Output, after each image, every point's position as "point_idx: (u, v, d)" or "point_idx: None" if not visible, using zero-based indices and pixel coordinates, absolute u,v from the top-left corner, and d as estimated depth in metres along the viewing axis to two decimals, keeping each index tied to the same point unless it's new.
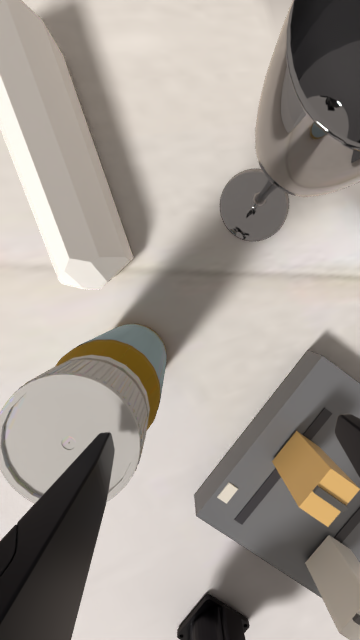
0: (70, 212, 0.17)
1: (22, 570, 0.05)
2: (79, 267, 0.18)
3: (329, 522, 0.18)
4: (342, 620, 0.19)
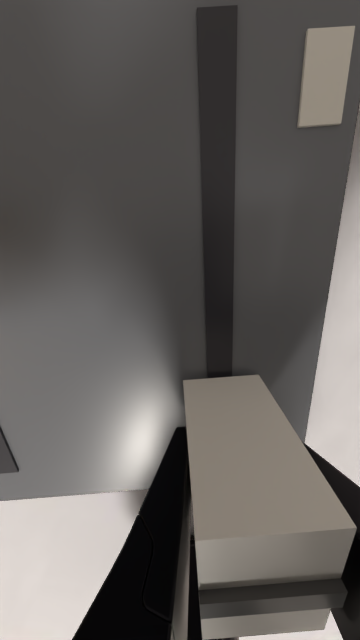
0: None
1: (165, 558, 0.05)
2: None
3: None
4: None
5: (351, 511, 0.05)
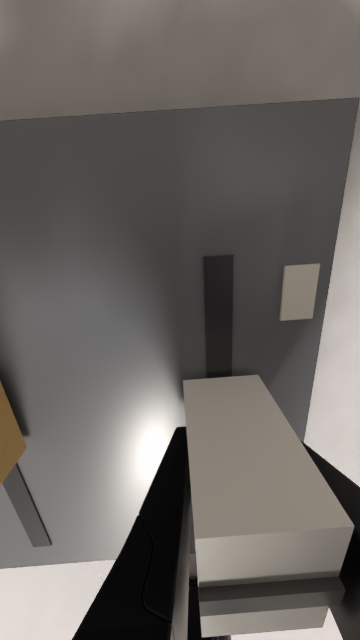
0: None
1: (165, 558, 0.05)
2: None
3: None
4: None
5: (351, 511, 0.05)
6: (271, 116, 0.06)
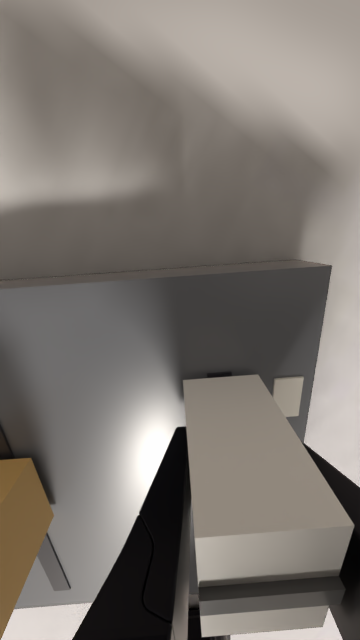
0: None
1: (166, 558, 0.05)
2: None
3: None
4: None
5: (351, 511, 0.05)
6: (261, 279, 0.08)
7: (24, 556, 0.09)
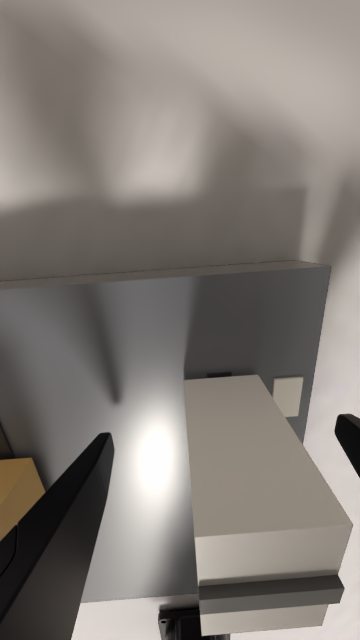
0: None
1: (22, 570, 0.05)
2: None
3: None
4: None
5: None
6: (261, 279, 0.08)
7: None
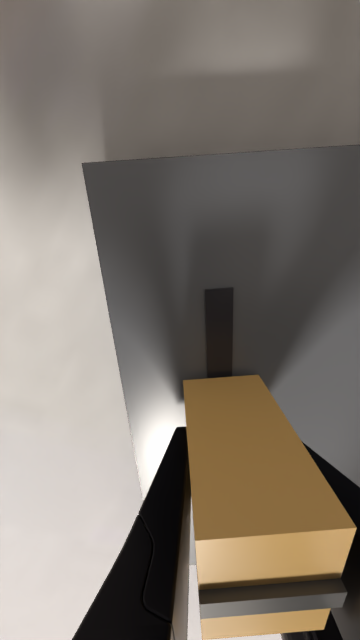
0: None
1: (165, 558, 0.05)
2: None
3: (320, 621, 0.05)
4: None
5: (351, 511, 0.05)
6: None
7: None
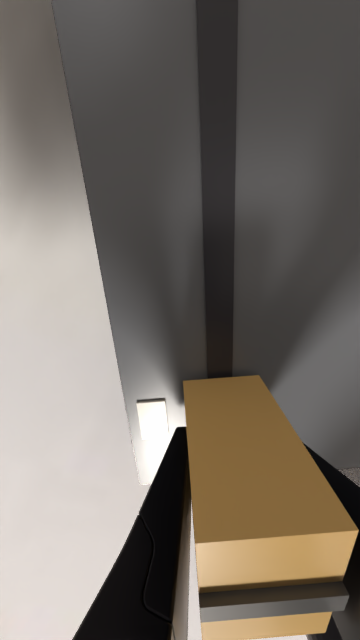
0: None
1: (165, 559, 0.05)
2: None
3: (321, 624, 0.05)
4: None
5: (350, 511, 0.05)
6: None
7: None
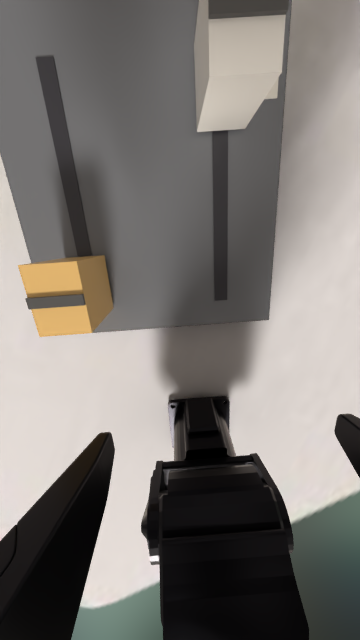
0: None
1: (22, 570, 0.05)
2: None
3: (88, 326, 0.13)
4: (208, 56, 0.09)
5: None
6: None
7: (104, 302, 0.15)
